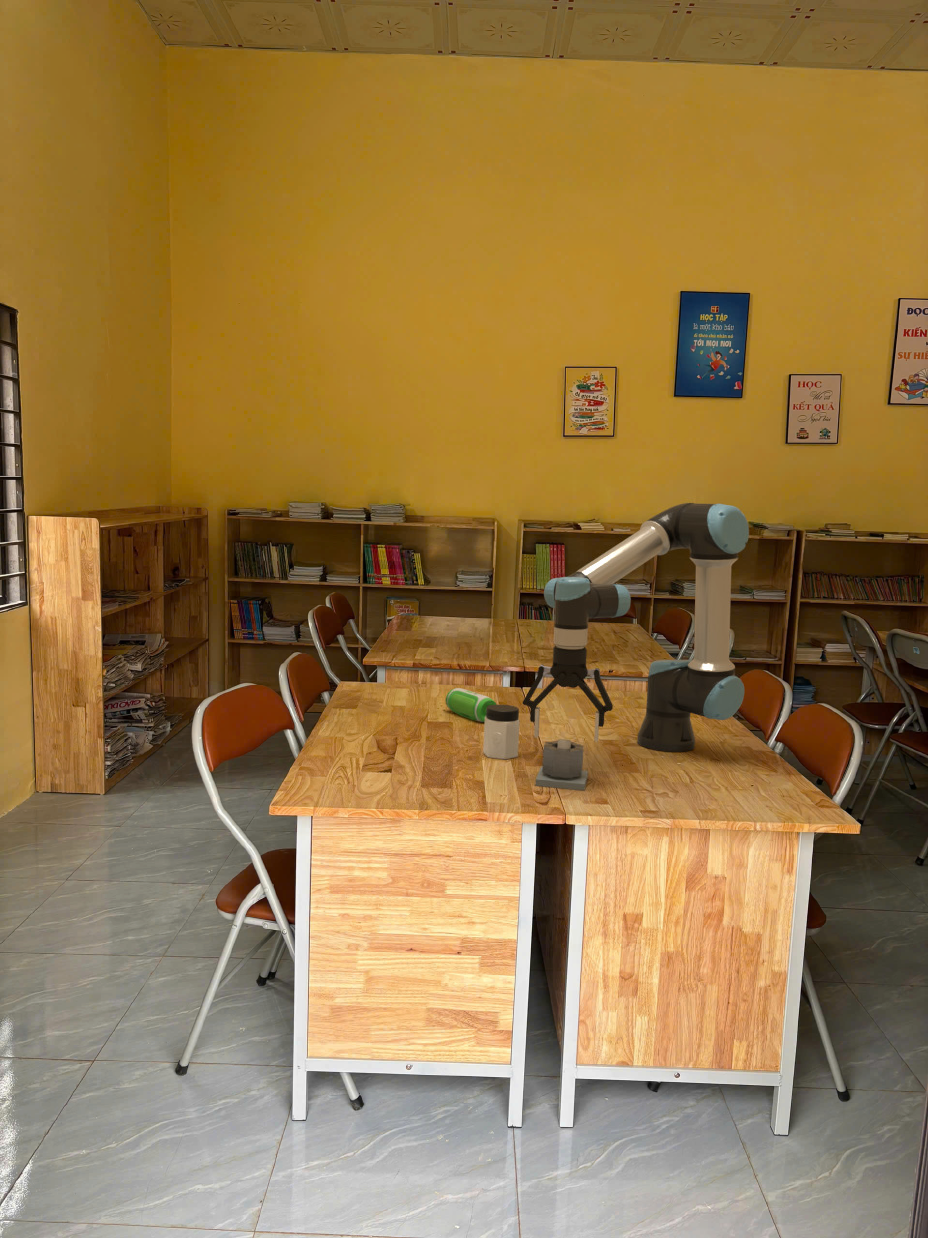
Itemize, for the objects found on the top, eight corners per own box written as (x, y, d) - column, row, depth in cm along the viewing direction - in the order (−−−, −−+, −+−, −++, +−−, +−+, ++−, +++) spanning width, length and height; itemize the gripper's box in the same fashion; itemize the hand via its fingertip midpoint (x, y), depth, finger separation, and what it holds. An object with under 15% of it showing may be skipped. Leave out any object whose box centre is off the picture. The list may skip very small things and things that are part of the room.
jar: (478, 756, 243) (480, 709, 241) (487, 749, 250) (489, 703, 249) (513, 761, 240) (516, 713, 239) (521, 753, 248) (524, 706, 246)
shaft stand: (587, 777, 229) (590, 737, 228) (584, 790, 218) (587, 749, 217) (540, 772, 231) (542, 733, 230) (535, 785, 220) (537, 744, 219)
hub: (582, 768, 228) (584, 743, 227) (580, 778, 219) (581, 752, 219) (545, 764, 229) (546, 739, 229) (540, 775, 221) (542, 748, 220)
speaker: (498, 722, 281) (500, 697, 280) (478, 725, 277) (479, 699, 276) (463, 710, 295) (464, 685, 294) (443, 712, 291) (444, 687, 290)
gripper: (626, 646, 222) (622, 738, 225) (517, 640, 227) (514, 730, 230) (625, 652, 215) (621, 746, 218) (512, 645, 219) (509, 738, 222)
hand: (566, 738), depth 224 cm, fingers open, 13 cm apart
